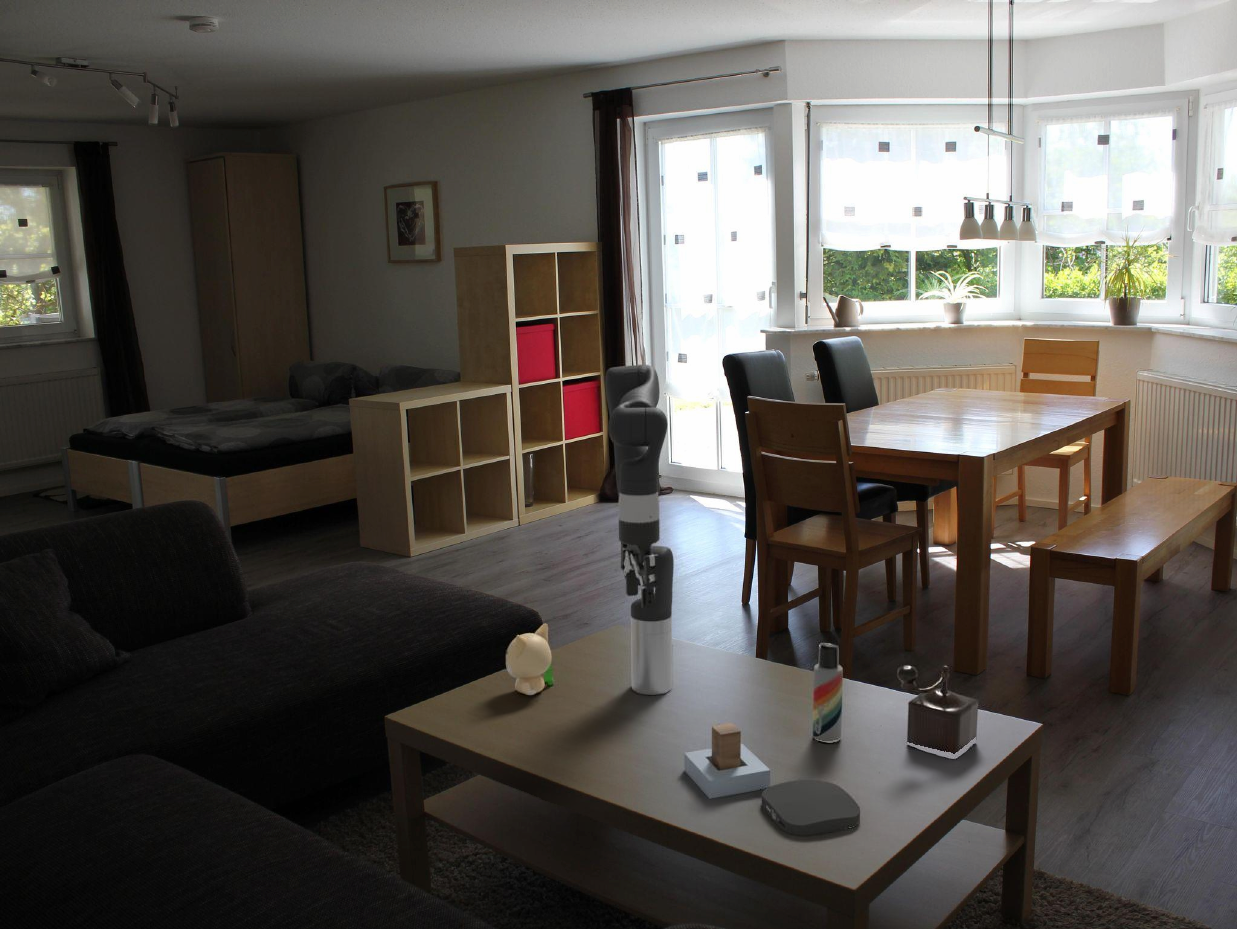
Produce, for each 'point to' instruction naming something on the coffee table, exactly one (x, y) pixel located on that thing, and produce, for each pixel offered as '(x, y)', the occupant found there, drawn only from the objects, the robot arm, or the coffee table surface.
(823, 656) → the lotion bottle
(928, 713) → the manual coffee grinder
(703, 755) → the socket
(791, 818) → the media streaming box
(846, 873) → the coffee table surface
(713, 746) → the peg
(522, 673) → the kitten
